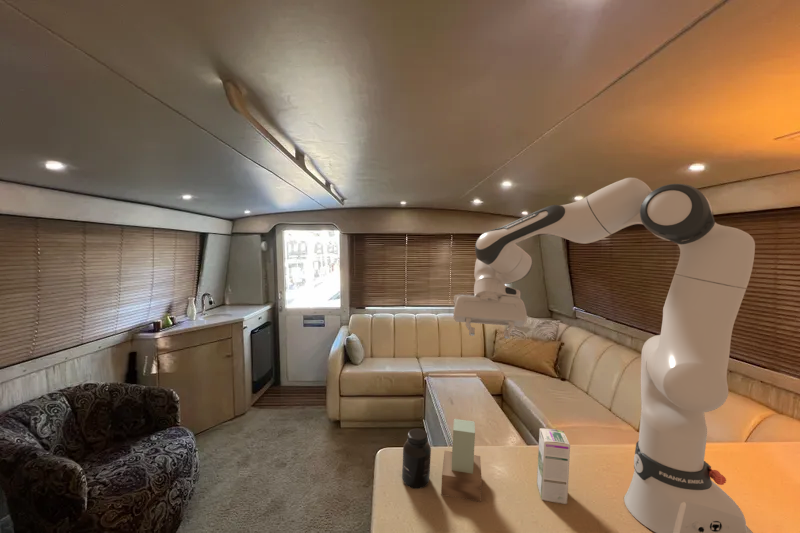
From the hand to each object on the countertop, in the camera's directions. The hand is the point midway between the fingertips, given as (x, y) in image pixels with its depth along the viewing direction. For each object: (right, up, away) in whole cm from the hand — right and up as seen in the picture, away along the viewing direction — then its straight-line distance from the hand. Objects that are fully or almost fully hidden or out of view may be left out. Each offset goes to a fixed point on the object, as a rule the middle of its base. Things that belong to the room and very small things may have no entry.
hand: (489, 336), depth 91 cm
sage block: (-9, -29, -10) cm, 32 cm away
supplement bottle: (-21, -34, -9) cm, 41 cm away
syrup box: (+11, -35, -12) cm, 39 cm away
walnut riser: (-10, -34, -10) cm, 37 cm away
